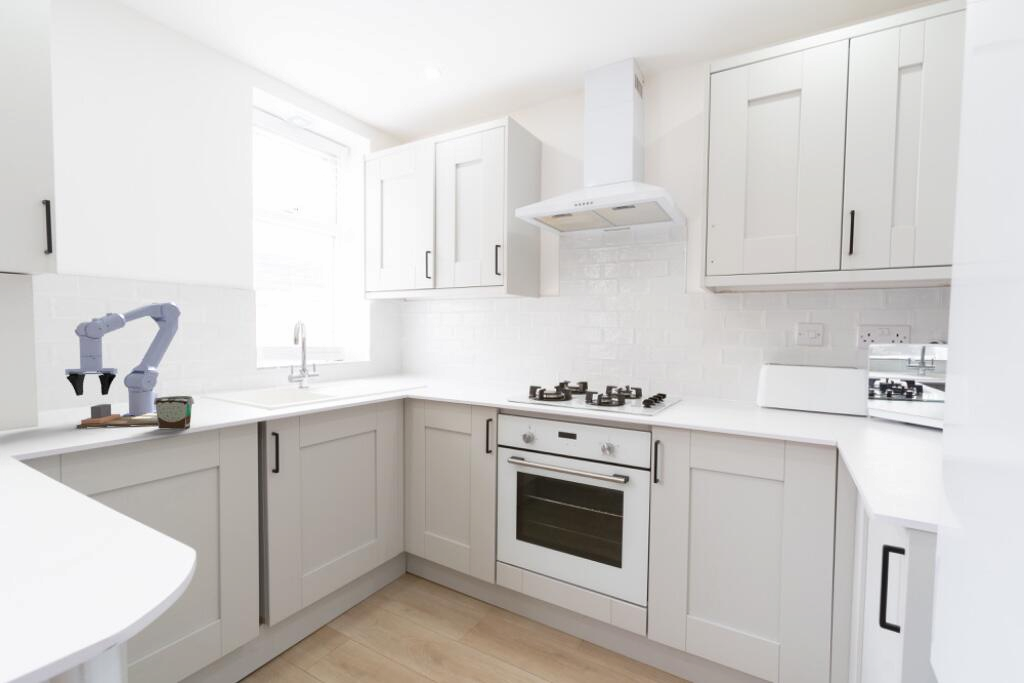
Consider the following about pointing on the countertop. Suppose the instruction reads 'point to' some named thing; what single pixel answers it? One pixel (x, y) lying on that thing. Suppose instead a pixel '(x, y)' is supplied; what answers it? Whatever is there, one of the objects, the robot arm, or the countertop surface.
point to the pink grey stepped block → (100, 414)
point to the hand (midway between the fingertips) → (92, 395)
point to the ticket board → (126, 421)
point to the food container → (174, 411)
